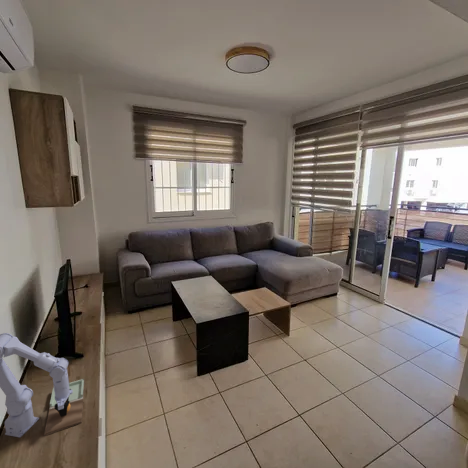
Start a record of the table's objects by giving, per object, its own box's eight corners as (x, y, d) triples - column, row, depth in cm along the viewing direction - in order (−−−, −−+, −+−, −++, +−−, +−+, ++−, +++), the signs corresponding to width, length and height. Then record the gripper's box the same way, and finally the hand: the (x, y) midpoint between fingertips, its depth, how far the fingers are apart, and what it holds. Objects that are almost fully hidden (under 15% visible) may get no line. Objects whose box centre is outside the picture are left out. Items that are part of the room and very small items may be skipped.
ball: (65, 418, 119) (64, 408, 118) (55, 416, 120) (54, 407, 119) (73, 408, 124) (72, 399, 123) (64, 407, 125) (63, 398, 124)
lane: (81, 423, 119) (81, 421, 119) (44, 435, 113) (44, 433, 112) (84, 383, 143) (84, 381, 142) (53, 391, 136) (53, 390, 136)
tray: (82, 397, 132) (82, 394, 132) (50, 407, 126) (49, 404, 125) (84, 381, 142) (83, 378, 142) (53, 390, 136) (53, 387, 136)
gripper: (70, 393, 115) (73, 419, 117) (73, 372, 127) (75, 396, 130) (50, 399, 112) (54, 426, 114) (55, 377, 124) (58, 401, 127)
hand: (64, 410), depth 122 cm, fingers closed on ball, 5 cm apart
